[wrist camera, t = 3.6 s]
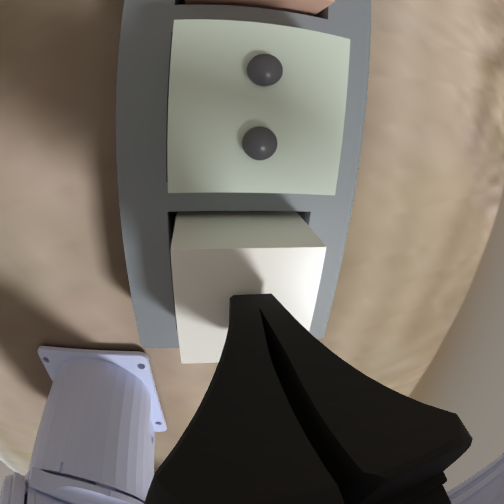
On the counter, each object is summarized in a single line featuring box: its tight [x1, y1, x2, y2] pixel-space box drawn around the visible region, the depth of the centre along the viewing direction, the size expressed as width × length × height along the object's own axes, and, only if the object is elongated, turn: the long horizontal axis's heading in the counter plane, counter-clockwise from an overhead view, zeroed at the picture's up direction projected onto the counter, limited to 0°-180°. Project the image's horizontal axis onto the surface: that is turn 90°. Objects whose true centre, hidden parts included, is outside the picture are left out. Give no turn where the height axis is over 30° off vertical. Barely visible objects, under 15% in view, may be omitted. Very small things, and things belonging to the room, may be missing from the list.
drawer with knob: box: [170, 211, 326, 364], centre depth 12 cm, size 5×5×4 cm
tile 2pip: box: [167, 19, 350, 195], centre depth 9 cm, size 5×5×4 cm
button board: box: [116, 0, 371, 348], centre depth 11 cm, size 21×9×3 cm, turn 176°
